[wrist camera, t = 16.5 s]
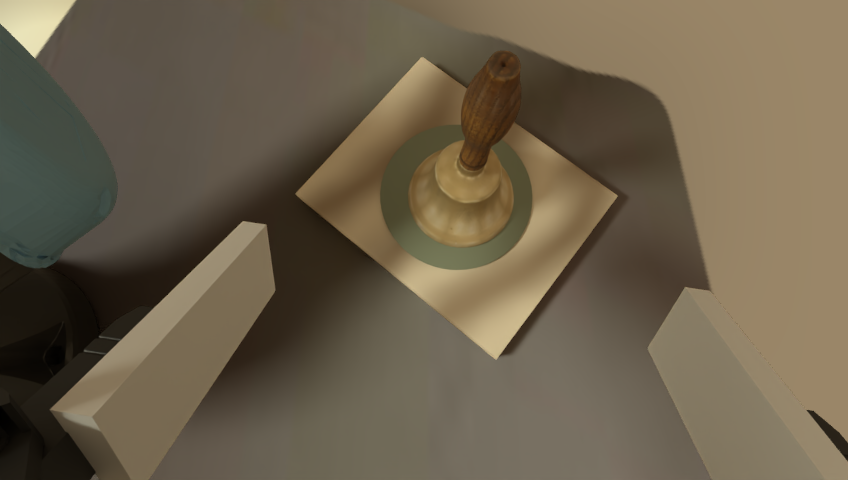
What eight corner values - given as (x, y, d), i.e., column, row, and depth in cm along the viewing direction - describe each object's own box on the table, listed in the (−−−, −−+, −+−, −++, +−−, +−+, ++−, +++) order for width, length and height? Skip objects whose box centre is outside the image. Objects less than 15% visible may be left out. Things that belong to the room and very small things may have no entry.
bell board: (301, 199, 32) (294, 193, 30) (422, 67, 35) (422, 55, 33) (492, 357, 29) (496, 359, 28) (609, 201, 32) (619, 195, 30)
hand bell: (506, 143, 31) (587, -36, 16) (520, 243, 29) (625, 154, 14) (404, 151, 31) (382, -21, 15) (412, 252, 29) (395, 172, 14)
